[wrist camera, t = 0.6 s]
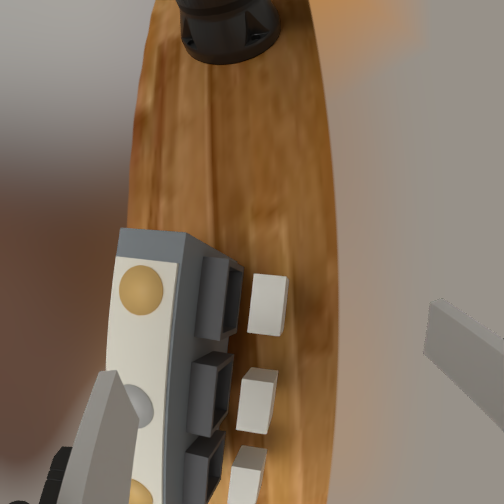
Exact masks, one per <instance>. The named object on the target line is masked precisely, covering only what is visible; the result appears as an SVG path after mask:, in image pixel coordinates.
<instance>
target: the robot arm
mask: <svg viewBox="0 0 504 504" xmlns="http://www.w3.org/2000/svg"><path fill="white" fill-rule="evenodd" d="M176 2H177V4H178V6H179V8H180V24H181V39H182V42H183V44H184V46H185V48H186V50H187V52H188V53H189V54H190V55H191V56H192V57H193V58H195V59H197V60H199V61H202V62H205V63H210V64H230V63H236V62H240V61H244V60H247V59H250V58H252V57H255V56H257V55H259V54H260V53H262V52H264V51H265V50H267V49H268V48H269V47H270V46H271V45H272V44H273V43H274V42H275V41H276V40H277V38H278V36H279V34H280V30H281V25H280V18H279V14H278V11H277V9H276V8H275V6H274V5H273V3H272V2H271V0H176ZM423 354H424V355H425V356H427V357H428V358H429V359H430V360H431V361H432V362H433V363H434V364H435V365H436V366H437V367H438V368H439V369H440V370H441V371H442V372H443V373H444V374H445V375H447V376H448V377H449V378H450V379H451V380H452V381H453V382H454V383H455V384H456V385H457V386H458V387H459V388H460V389H461V390H462V391H463V392H464V393H465V394H466V395H467V396H469V398H470V399H471V400H473V402H474V403H476V405H478V406H479V407H480V408H481V409H482V410H483V411H484V412H485V413H486V414H487V415H488V416H489V417H490V418H491V419H492V420H493V421H494V422H495V423H496V424H497V425H498V426H499V427H500V428H501V429H502V430H503V432H504V338H501V337H500V336H498V335H497V334H496V333H494V332H493V331H491V330H490V329H488V328H487V327H485V326H484V325H482V324H481V323H479V322H478V321H476V320H475V319H474V318H472V317H470V316H469V315H467V314H466V313H464V312H463V311H461V310H460V309H458V308H457V307H455V306H454V305H452V304H451V303H449V302H448V301H446V300H445V299H443V298H441V299H438V300H435V301H433V302H430V306H429V316H428V323H427V331H426V339H425V346H424V351H423ZM139 420H140V419H139V417H138V415H137V413H136V411H135V409H134V407H133V405H132V403H131V401H130V399H129V396H128V394H127V392H126V390H125V388H124V385H123V383H122V381H121V378H120V376H119V374H118V371H117V370H110V371H100V372H99V374H98V377H97V379H96V382H95V385H94V387H93V390H92V393H91V396H90V398H89V401H88V404H87V407H86V409H85V412H84V415H83V418H82V421H81V424H80V426H79V429H78V432H77V435H76V439H75V442H74V445H73V447H61V449H60V450H59V451H58V452H57V454H56V455H55V456H54V458H53V461H52V464H51V467H50V471H49V473H48V476H47V480H46V482H45V485H44V488H43V492H42V495H41V499H40V502H39V504H129V497H130V487H131V478H132V470H133V462H134V454H135V447H136V440H137V433H138V426H139ZM10 504H29V503H27V502H25V501H14V502H11V503H10Z"/></svg>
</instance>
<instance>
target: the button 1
mask: <svg viewBox="0 0 504 504" xmlns="http://www.w3.org/2000/svg"><path fill="white" fill-rule="evenodd" d="M266 454H267V449H264V448H257V447H251V446H245V445H242V446H241V448H240V450H239V452H238V454H237V456H236V458H235V460H234V462H233V464H232V468H231V477H230V485H229V493H228V502H227V503H228V504H256V502H257V498H258V495H259V491H260V488H261V484H262V478H263V472H264V466H265V460H266Z"/></svg>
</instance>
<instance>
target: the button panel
mask: <svg viewBox="0 0 504 504" xmlns="http://www.w3.org/2000/svg"><path fill="white" fill-rule="evenodd" d="M243 273H244V267H243V266H241V265H239V264H237V261H235V260H233V259H232V258H230V257H228V256H226V255H225V254H223V253H221V252H219V251H218V250H216V249H214V248H212V247H210V246H209V245H207V244H205V243H203V242H202V241H200V240H198V239H196V238H195V237H193V236H191V235H190V234H188V233H185V232H172V231H159V230H145V229H131V228H121V229H120V235H119V241H118V247H117V254H116V261H115V268H114V276H113V284H112V293H111V302H110V313H109V324H108V338H107V355H106V356H107V357H106V371H110V370H117V371H118V374H119V376H120V378H121V381H122V383H123V385H124V388H125V390H126V392H127V394H128V396H129V399H130V401H131V403H132V405H133V407H134V409H135V411H136V413H137V415H138V417H139V419H140V420H139V426H138V433H137V440H136V447H135V454H134V462H133V470H132V478H131V487H130V497H129V504H208V502H209V500H210V498H211V497H212V495H213V493H214V491H215V489H216V487H217V485H218V484H219V482H220V480H221V473H222V463H223V454H224V445H225V435H226V431H221V430H219V425H220V424H221V422H222V421H223V420H224V418H225V417H226V415H227V414H228V407H229V398H230V389H231V380H232V371H233V362H234V354H230V353H227V349H228V339H229V336H231V335H233V334H235V333H237V326H238V317H239V308H240V299H241V290H242V281H243Z"/></svg>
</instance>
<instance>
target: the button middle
mask: <svg viewBox="0 0 504 504" xmlns="http://www.w3.org/2000/svg"><path fill="white" fill-rule="evenodd" d="M277 378H278V370H270V369H262V368H254V367H251V368H250V369H249V371H248V372H247V373H246V374H245V376H244V377H243V378H242V383H241V391H240V400H239V409H238V417H237V426H236V430H241V431H247V432H253V433H260V434H267V431H268V428H269V425H270V422H271V418H272V414H273V407H274V400H275V393H276V386H277Z"/></svg>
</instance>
